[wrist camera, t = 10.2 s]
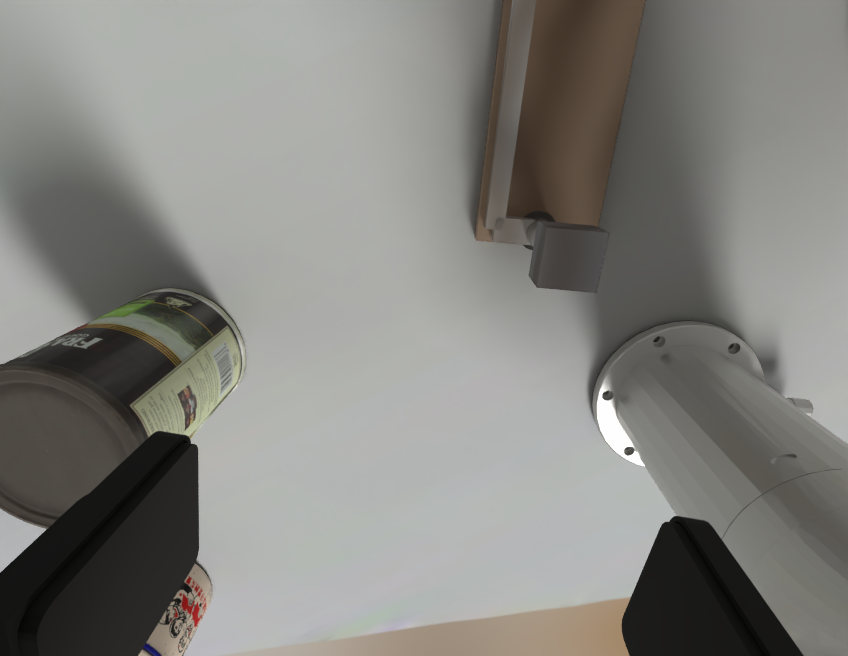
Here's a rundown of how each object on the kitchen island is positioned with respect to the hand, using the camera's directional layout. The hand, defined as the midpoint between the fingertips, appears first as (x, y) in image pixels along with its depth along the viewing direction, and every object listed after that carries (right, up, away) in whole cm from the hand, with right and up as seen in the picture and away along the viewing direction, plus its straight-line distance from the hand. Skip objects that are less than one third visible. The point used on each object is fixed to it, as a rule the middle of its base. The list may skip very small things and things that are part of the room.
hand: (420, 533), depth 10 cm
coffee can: (-19, +2, +29) cm, 34 cm away
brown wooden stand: (+9, +20, +21) cm, 30 cm away
